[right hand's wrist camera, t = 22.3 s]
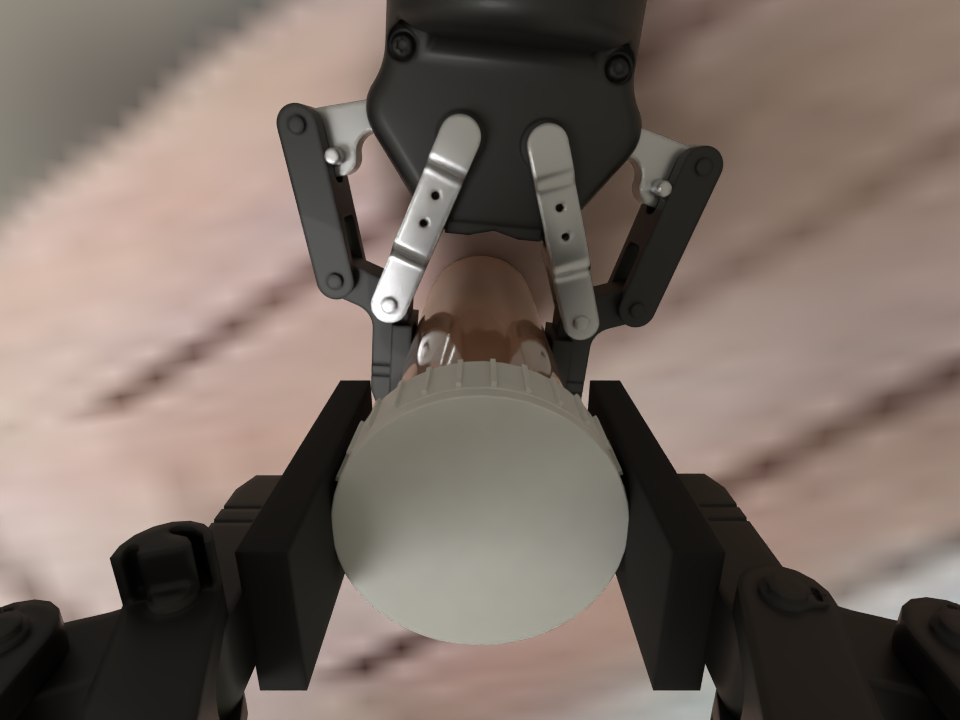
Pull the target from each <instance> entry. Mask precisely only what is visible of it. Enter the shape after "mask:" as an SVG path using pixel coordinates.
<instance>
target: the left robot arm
mask: <svg viewBox="0 0 960 720" xmlns="http://www.w3.org/2000/svg"><path fill="white" fill-rule="evenodd" d="M646 1H647V0H387V10H386V41H385V53H384V58H383V62H382V65H381V68H380V71H379V73H378V75H377V77H376V79H375V81H374V82H373V84H372V86H371V87H370V90H369V92H368V96H367V100H361V101H355V102H349V103H343V104H337V105H331V106H325V107H319V108H313V107H310V106H306V105H303V104H299V103H290V104H287V105H286V106H284V107H283V108H282V109H281V110H280V112H279V114H278V116H277V129H278V133H279V137H280V141H281V144H282V148H283V152H284V156H285V160H286V164H287V168H288V172H289V176H290V180H291V184H292V188H293V191H294V195H295V199H296V203H297V207H298V211H299V215H300V219H301V223H302V227H303V231H304V235H305V238H306V242H307V246H308V250H309V254H310V258H311V262H312V266H313V270H314V274H315V278H316V282H317V285H318V288H319V289H320V291H321V292H322V293H323V294H324V295H325V296H327V297H329V298H331V299H342V298H343V299H345V300H347V301H349V302H352V303H354V304H356V305H358V306H360V307H362V308H363V309H364V310H366V311H367V313H368V314H369V315H370V317H371V320H372V323H373V341H372V376H371V391H372V393H373V396H374V398H375V401H376V400H377V399H378V398H380V399H381V400H383V399H384V397H385V396H387V395H388V394H389V393H390V392H392V391H393V390H394V389H395V387H396V385H397V382H398V379H399V376H400V374H401V371H402V368H403V365H404V363H405V360H406V357H407V354H408V352H409V349H410V346H411V343H412V341H413V338H414V335H415V332H416V330H417V327H418V313H419V310H413V297H414V295H415V292H416V290H417V288H418V286H419V283H420V281H421V279H422V276H423V274H424V272H425V270H426V267H427V265H428V263H429V261H430V258H431V256H432V254H433V252H434V249H435V247H436V245H437V243H438V240H439V238H440V236H441V233H442V231H443V229H445V233H455V234H466V235H471V234H476V233H482V232H488V231H497V232H499V233H502V234H505V235H507V236H510V237H513V238H515V239H518V240H529V241H539V243H540V248H541V252H542V256H543V260H544V263H545V267H546V271H547V276H548V280H549V285H550V289H551V294H552V298H553V303H554V307H555V309H554V316H553V323H551V322H546V326H545V334H546V336H547V339H548V342H549V345H550V347H551V350H552V353H553V356H554V358H555V361H556V364H557V367H558V369H559V372H560V375H561V378H562V380H563V383H564V386H565V389H566V390H568V391H569V392H570V393H571V394H572V395H573V396H574V395H575V394H578V395H579V396H580V398H581V397H582V391H583V385H584V380H585V374H586V368H587V362H588V356H589V350H590V345H591V343H592V341H593V339H594V338H595V336H596V335H597V334H598V333H600V332H601V331H603V330H605V329H609V328H613V327H617V326H621V325H625V324H626V325H628V326H630V327H641V326H644V325H646V324H647V323H648V322H649V321H650V320H651V319H652V318H653V316H654V314H655V312H656V310H657V308H658V306H659V303H660V301H661V299H662V297H663V295H664V293H665V291H666V289H667V287H668V284H669V282H670V280H671V278H672V276H673V274H674V272H675V270H676V267H677V265H678V263H679V261H680V259H681V257H682V255H683V253H684V251H685V248H686V246H687V244H688V242H689V240H690V238H691V236H692V234H693V232H694V229H695V227H696V225H697V223H698V221H699V219H700V217H701V215H702V212H703V210H704V208H705V206H706V204H707V202H708V200H709V198H710V196H711V193H712V191H713V189H714V187H715V185H716V183H717V181H718V179H719V177H720V174H721V172H722V169H723V159H722V156H721V154H720V153H719V151H718V150H717V149H715V148H713V147H711V146H701V145H688V146H687V145H684V144H682V143H679V142H677V141H674V140H672V139H669V138H667V137H664V136H662V135H659V134H656V133H654V132H651V131H649V130H646V129H644V128H642V122H641V116H640V113H639V110H638V107H637V104H636V100H635V95H634V71H635V66H636V60H637V54H638V48H639V43H640V37H641V31H642V25H643V19H644V13H645V7H646ZM373 133H374V134H375V136H376V138H377V139H378V141H379V143H380V144H381V146H382V147H383V149H384V151H385V152H386V154H387V156H388V157H389V159H390V161H391V162H392V164H393V165H394V167H395V169H396V170H397V172H398V174H399V175H400V177H401V179H402V180H403V182H404V184H405V185H406V187H407V188H408V190H409V192H410V193H411V195H412V200H411V202H410V205H409V207H408V210H407V212H406V214H405V217H404V219H403V222H402V224H401V227H400V229H399V231H398V234H397V236H396V239H395V241H394V244H393V247H392V251H391V254H390V256H389V259H388V261H387V264H386V266H385V268H382V267H380V266H377V265H375V264H373V263H371V262H369V261H366V258H365V253H364V249H363V244H362V240H361V235H360V231H359V226H358V222H357V217H356V213H355V208H354V204H353V199H352V195H351V190H350V186H349V181H348V177H347V175H350V174H353V173H354V172H356V171H357V170H358V169H359V167H360V165H361V162H362V146H363V143H364V141H365V139H366V138H367V137H368V136H370V135H371V134H373ZM627 159H628V160H629V161H630V162H631V164H632V166H633V168H634V174H635V175H634V181H633V184H632V192H633V195H634V197H635V199H636V200H637V201H638V202H640V203H642V205H641V207H640V209H639V212H638V214H637V216H636V219H635V221H634V223H633V226H632V228H631V230H630V232H629V235H628V237H627V239H626V242H625V244H624V246H623V249H622V251H621V253H620V255H619V258H618V260H617V262H616V265H615V267H614V269H613V272H612V274H611V276H610V279H609V281H608V283H606V284H602V285H598V286H594V287H593V285H592V280H591V274H590V268H591V264H590V257H589V252H588V246H587V241H586V236H585V231H584V226H583V220H582V215H581V210H582V209H583V208H584V207H585V205H586V204H587V203H588V202H589V201H590V200H591V199H592V198H593V197H594V196H595V194H596V193H597V192H598V191H599V190H600V189H601V188H602V187H603V186H604V185H605V184H606V182H607V181H608V180H609V179H610V178H611V177H612V176H613V175H614V174H615V173H616V171H617V170H618V169H619V168H620V167H621V166H622V165H623V164H624V163H625V162H626V161H627Z"/></svg>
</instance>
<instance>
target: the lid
mask: <svg viewBox="0 0 960 720" xmlns="http://www.w3.org/2000/svg"><path fill="white" fill-rule="evenodd" d="M620 475H623V471H622V469H621V467H620V464H619V462H618V460H617V458H616V456H615V453H614V451H613V449H612V447H611V444H610V442H609V440H607V437H606V435H605V433H604V431H603V428H602V426H601V424H600V422H599V419H598V418H597V416H596V415H595V416H593V417H592V416H591V414H590V413H589V412H588V410H587V409H586V408H585V407H584V405H583V403H582V400H581V398H580V396H579V395H578V394H575V395H574V396H573V395H572V394H571V393H570V392H569V391H568V390H566V389H565V388H564V387H562V386H561V385H559V384H558V383H557V380H556V378H554V377H553V376H551V378H550V379H549V378H547V377H545V376H543V375H541V374H539V373H537V372H534V371H532V370H529V369H528V367H527V365H524V364H522V366H521V367H520V366H515V365H511V364H506V363H500V362H496V359H490V362H489V361H472V362H463V359H460V360H458V362H457V363H455V364H448V365H445V366H441V367H438V368H434V369H433V368H432V366H430V367H427V368H426V372H424V373H421V374H419V375H417V376H414V377H413V378H411V379H409V380H408V381H406V382H405V381H404V380H401V381H399V383H398V386H397V388H395V389H394V390H393V391H392V392H390V393H389V394H388V395H387V396H385V397H384V399H383V400H381V399H380V398H378V399H377V400H376V402H375V404H374V407H373V409H372V412H371V414H370V415H369V416H368V418H367V419H366V421H365V422H364V421H362V420H361V422H360V423H359V425H358V427H357V430H356V432H355V434H354V436H353V439H352V441H351V443H350V445H349V448H348V450H347V452H346V456H345V458H344V460H343V462H342V465H341V467H340V469H339V471H338V474H337V476H336V479H335V480H336V481H338V483H337V486H336V489H335V492H334V496H333V502H332V508H331V518H332V528H333V537H334V546H335V550H336V553H337V556H338V559H339V562H340V564H341V566H342V568H343V570H344V572H345V574H346V576H347V577H348V579H349V580H350V582H351V583H352V585H353V586H354V588H355V589H356V590H357V591H358V592H359V593H360V594H361V596H362V597H363V598H364V599H365V600H366V601H367V602H368V603H369V604H370V605H372V606H373V607H374V608H375V609H376V610H377V611H378V612H380V613H381V614H383V615H384V616H386V617H387V618H388V619H390V620H391V621H393V622H395V623H397V624H399V625H400V626H402V627H404V628H406V629H408V630H410V631H413V632H415V633H418V634H420V635H423V636H426V637H430V638H433V639H437V640H440V641H445V642H451V643H457V644H468V645H494V644H502V643H510V642H515V641H519V640H524V639H528V638H531V637H534V636H537V635H540V634H543V633H546V632H548V631H550V630H552V629H554V628H556V627H558V626H560V625H562V624H564V623H565V622H567V621H569V620H570V619H572V618H574V617H575V616H577V615H578V614H579V613H580V612H582V611H583V610H584V609H586V608H587V607H588V606H589V605H590V604H591V603H592V602H593V601H594V600H595V599H596V598H597V597H598V596H599V595H600V594H601V593H602V592H603V590H604V589H605V588H606V586H607V585H608V584H609V582H610V581H611V579H612V578H613V576H614V574H615V572H616V571H617V569H618V567H619V565H620V562H621V560H622V557H623V554H624V552H625V548H626V540H627V532H628V522H629V506H628V500H627V496H626V492H625V488H624V485H623V482H622V480H621V477H620Z"/></svg>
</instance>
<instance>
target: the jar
mask: <svg viewBox="0 0 960 720" xmlns="http://www.w3.org/2000/svg"><path fill="white" fill-rule="evenodd" d="M460 359H463V362H472V361H489V362H490V359H496V362H500V363H506V364H511V365H515V366H520V367H521V366H522V364H524V365H527V367H528V369H529V370H532V371H534V372H537V373H539V374H541V375H543V376H545V377H547V378H549V379H550V378H551V376H553V377H554V378H556V380H557V383H558V384H559V385H561V386H562V387H564V388H565V386H564V383H563V380H562V378H561V375H560V372H559V369H558V367H557V364H556V361H555V358H554V356H553V353H552V350H551V347H550V345H549V342H548V339H547V336H546V334H545V331H544V328H543V325H542V323H541V320H540V317H539V314H538V312H537V309H536V306H535V303H534V301H533V298H532V295H531V292H530V290H529V287H528V285H527V283H526V281H525V280H524V278H523V277H522V275H521V274H520V273H519V272H518V271H517V270H516V269H515V268H514V267H512V266H511V265H510V264H508V263H506V262H505V261H503V260H500V259H498V258H494V257H490V256H470V257H466V258H463V259H460V260H458V261H456V262H454V263H452V264H451V265H449V266H448V267H447V268H445V269H444V270H443V271H442V272H441V273H440V274H439V276H438V277H437V279H436V280H435V282H434V284H433V286H432V288H431V291H430V294H429V297H428V299H427V302H426V305H425V308H424V310H423V313H422V316H421V319H420V321H419V324H418V327H417V330H416V332H415V335H414V338H413V341H412V343H411V346H410V349H409V352H408V354H407V357H406V360H405V363H404V365H403V368H402V371H401V374H400V376H399V379H398V382H397V385H396V387H395V388H397V386H398V383H399V381H401V380H404V381H405V382H406V381H408V380H409V379H411V378H413V377H414V376H417V375H419V374H421V373H424V372H426V368H427V367H430V366H432V368H433V369H434V368H438V367H441V366H445V365H448V364H455V363H457V362H458V360H460Z"/></svg>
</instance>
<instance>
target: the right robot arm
mask: <svg viewBox="0 0 960 720" xmlns="http://www.w3.org/2000/svg"><path fill="white" fill-rule="evenodd" d="M371 412H372V397H371V384H370V381H340V382H339V384H338V386H337V387H336V389H335V390H334V392H333V394H332V395H331V397H330V399H329V400H328V402H327V403H326V405H325V407H324V408H323V410H322V412H321V413H320V415H319V416H318V418H317V420H316V421H315V423H314V424H313V426H312V428H311V429H310V431H309V433H308V434H307V436H306V437H305V439H304V441H303V442H302V444H301V446H300V447H299V449H298V450H297V452H296V454H295V455H294V457H293V459H292V460H291V462H290V463H289V465H288V467H287V468H286V470H285V472H284V473H283V475H256V476H255V477H253V478H252V479H250V480H249V481H248V482H246V483H245V484H243V485H242V486H240V487H239V488H238V489H236V490H235V492H234V493H233V494H232V496H231V497H230V499H229V500H228V501H227V503H226V504H225V505H224V509H222V510H221V511H220V512H219V514H218V515H217V516H216V518H215V519H214V523H211V525H210V526H209V527H207V526H206V525H205V524H202V523H197V522H193V521H179V522H170V523H166V524H162V525H158V526H154V527H152V528H150V529H147V530H145V531H143V532H141V533H138V534H136V535H134V536H133V537H131V538H130V539H129V540H127V541H126V542H125V543H123V544H122V545H120V546H119V547H118V549H117V550H116V551H115V552H114V554H113V555H112V556H111V557H110V561H111V564H112V568H113V572H114V575H115V579H116V582H117V586H118V589H119V593H120V597H121V600H122V604H123V606H122V609H120V610H116V611H113V612H110V613H105V614H101V615H97V616H92V617H88V618H84V619H79V620H75V621H70V622H66V623H64V622H63V619H62V616H61V613H60V610H59V608H58V607H57V606H55V605H54V604H53V603H52V602H50V601H42V600H28V601H22V602H16V603H12V604H9V605H6V606H3V607H0V720H247V716H248V712H247V704H246V698H245V693H244V690H245V688H246V686H247V684H248V681H249V679H250V677H251V674H252V672H253V670H254V668H255V665H256V670H257V676H258V681H259V687H260V690H307V689H308V686H309V683H310V679H311V676H312V673H313V670H314V667H315V664H316V661H317V658H318V655H319V652H320V648H321V645H322V642H323V639H324V636H325V633H326V630H327V627H328V624H329V621H330V618H331V614H332V611H333V608H334V605H335V602H336V599H337V596H338V593H339V590H340V587H341V583H342V580H343V577H344V574H345V572H344V570H343V568H342V566H341V564H340V562H339V559H338V556H337V553H336V550H335V546H334V537H333V528H332V518H331V508H332V502H333V496H334V492H335V489H336V486H337V483H338V481H336V480H335V479H336V476H337V474H338V471H339V469H340V467H341V465H342V462H343V460H344V458H345V456H346V452H347V450H348V448H349V445H350V443H351V441H352V439H353V436H354V434H355V432H356V430H357V427H358V425H359V423H360V422H361V420H362V421H364V422H365V421H366V419H367V418H368V416H369V415H370V414H371ZM588 412H589V413H590V414H591V416H592V417H593V416H595V415H596V416H597V418H598V419H599V422H600V424H601V426H602V428H603V431H604V433H605V435H606V437H607V440H609V442H610V444H611V447H612V449H613V451H614V453H615V456H616V458H617V460H618V462H619V464H620V467H621V469H622V471H623V475H620V477H621V480H622V482H623V485H624V488H625V492H626V496H627V500H628V506H629V522H628V532H627V540H626V548H625V552H624V554H623V557H622V560H621V562H620V565H619V567H618V569H617V571H616V572H615V573H616V576H617V579H618V582H619V586H620V589H621V592H622V595H623V598H624V601H625V604H626V607H627V610H628V613H629V616H630V620H631V623H632V626H633V629H634V632H635V635H636V638H637V641H638V644H639V647H640V651H641V654H642V657H643V660H644V663H645V666H646V669H647V672H648V675H649V678H650V682H651V685H652V688H653V690H700V688H701V683H702V678H703V672H704V667H705V664H706V666H707V669H708V671H709V673H710V675H711V678H712V680H713V682H714V684H715V687H716V693H715V698H714V703H713V708H712V713H711V718H710V720H960V605H959V604H957V603H953V602H950V601H947V600H941V599H935V598H928V597H924V598H916V599H911V600H909V601H908V602H907V603H906V604H904V605H903V606H902V608H901V611H900V614H899V617H898V620H897V621H896V620H892V619H887V618H883V617H878V616H874V615H870V614H865V613H861V612H856V611H852V610H849V609H845V608H842V607H839V606H838V605H837V604H836V602H835V601H834V599H833V598H832V596H831V595H830V593H829V592H828V591H827V590H826V589H825V588H823V587H822V586H821V585H820V584H818V583H817V582H816V581H815V580H813V579H811V578H810V577H808V576H806V575H804V574H802V573H800V572H798V571H796V570H792V569H789V568H785V567H782V565H781V564H780V563H779V561H778V560H777V558H776V557H775V556H774V554H773V553H772V552H771V550H770V549H769V548H768V546H767V545H766V543H765V542H764V541H763V539H762V538H761V537H760V535H759V534H758V533H757V531H756V530H755V528H754V527H753V526H752V524H751V523H750V522H749V521H747V519H746V516H745V515H744V513H743V512H742V511H741V509H740V508H739V507H737V504H736V503H735V501H734V500H733V498H732V497H731V496H730V494H729V493H728V492H727V490H726V489H725V488H724V487H723V486H721V485H720V484H718V483H717V482H716V481H714V480H713V479H711V478H710V477H708V476H707V475H705V474H677V473H676V471H675V469H674V468H673V466H672V464H671V463H670V461H669V460H668V458H667V456H666V455H665V453H664V451H663V450H662V448H661V447H660V445H659V443H658V442H657V440H656V439H655V437H654V435H653V434H652V432H651V430H650V429H649V427H648V426H647V424H646V422H645V421H644V419H643V417H642V416H641V414H640V413H639V411H638V409H637V408H636V406H635V404H634V403H633V401H632V400H631V398H630V396H629V395H628V393H627V392H626V390H625V388H624V387H623V385H622V383H621V382H620V381H590V388H589V402H588Z"/></svg>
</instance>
